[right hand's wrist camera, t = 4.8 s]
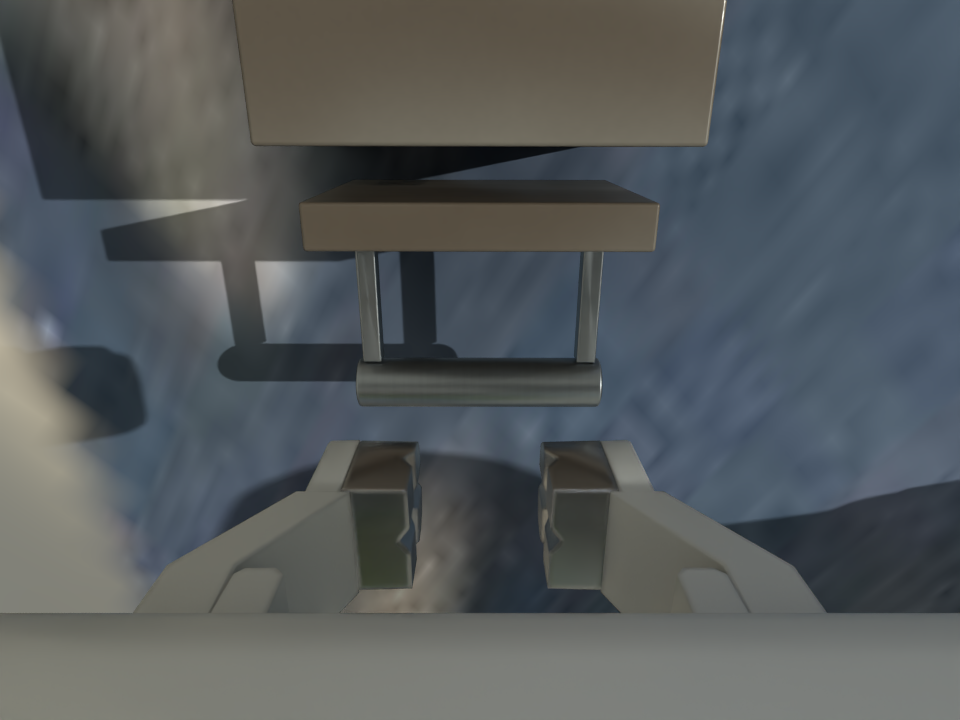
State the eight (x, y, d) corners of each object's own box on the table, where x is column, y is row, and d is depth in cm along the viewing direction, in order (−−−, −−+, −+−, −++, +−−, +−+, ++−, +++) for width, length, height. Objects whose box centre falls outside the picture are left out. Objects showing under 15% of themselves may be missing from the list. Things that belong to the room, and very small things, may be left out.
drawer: (592, 365, 23) (633, 452, 17) (365, 365, 23) (324, 451, 17) (653, -424, 15) (775, -807, 9) (306, -426, 15) (186, -809, 9)
